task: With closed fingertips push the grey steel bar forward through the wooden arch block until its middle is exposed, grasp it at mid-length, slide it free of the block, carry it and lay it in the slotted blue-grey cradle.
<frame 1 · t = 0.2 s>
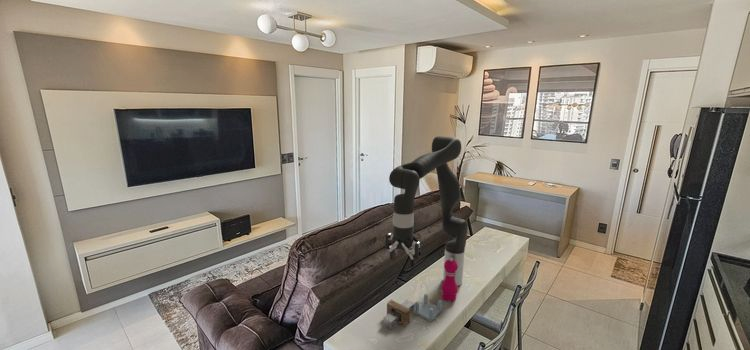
hand: (402, 263, 117), 28 cm above the table, fingers open, 8 cm apart
wooden arch block: (398, 318, 129), on the table
cradle: (428, 311, 134), on the table
pepper mill: (448, 297, 144), on the table
steel bar: (399, 318, 130), on the table
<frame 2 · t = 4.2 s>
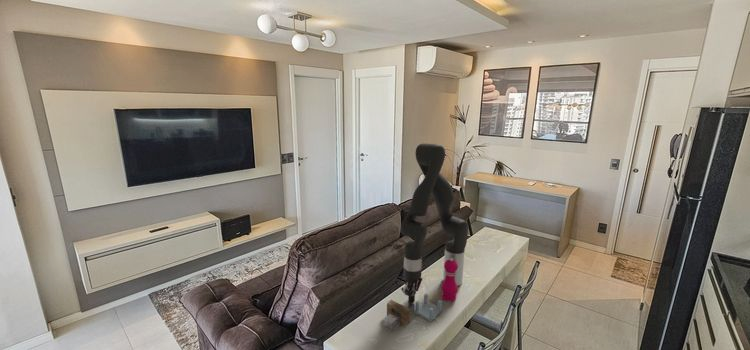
hand: (411, 301, 136), 3 cm above the table, fingers closed
nothing on the table moved.
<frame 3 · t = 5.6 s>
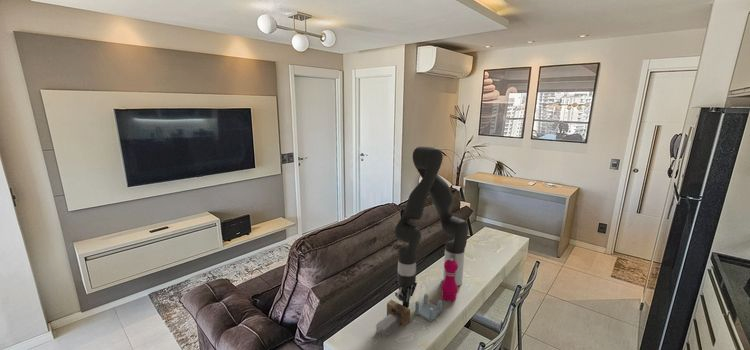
hand: (405, 307, 133), 3 cm above the table, fingers closed
steel bar: (392, 325, 126), on the table, touching wooden arch block, gripper
everything else where it was.
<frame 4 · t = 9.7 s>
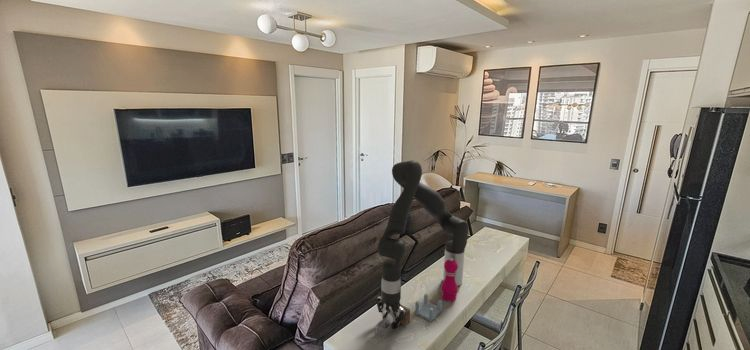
hand: (390, 325, 125), 0 cm above the table, fingers closed on steel bar, 4 cm apart
steel bar: (392, 324, 126), on the table, touching gripper
everything else where it was.
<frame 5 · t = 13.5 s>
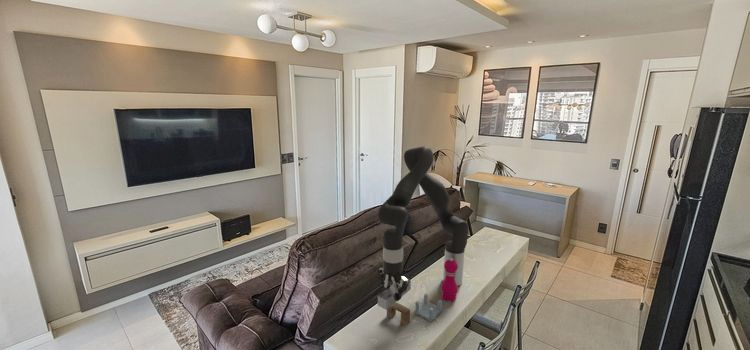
hand: (393, 297, 120), 14 cm above the table, fingers closed on steel bar, 4 cm apart
steel bar: (394, 296, 121), point 14 cm above the table, touching gripper
everything else where it was.
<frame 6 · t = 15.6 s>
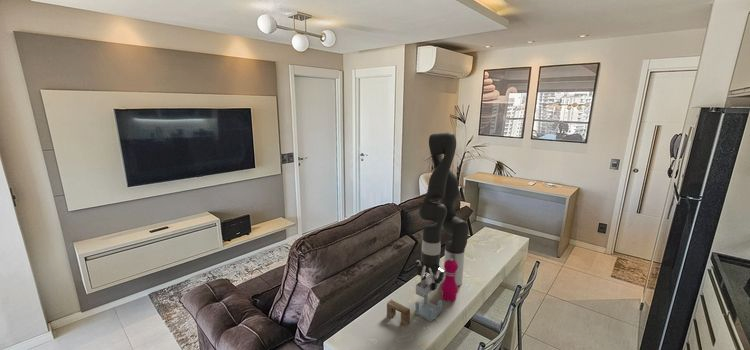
hand: (428, 287, 131), 12 cm above the table, fingers closed on steel bar, 4 cm apart
steel bar: (430, 287, 132), point 11 cm above the table, touching gripper
everything else where it was.
when the fingers open (3 cm above the table, at t = 17.4 s): steel bar drops 1 cm, resting on cradle.
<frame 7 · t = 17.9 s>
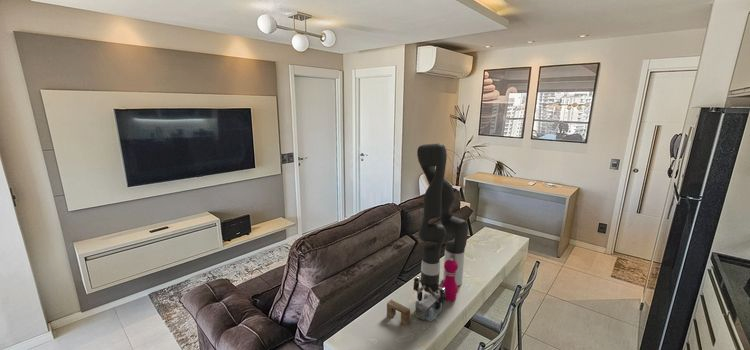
hand: (428, 304, 133), 4 cm above the table, fingers open, 8 cm apart
steel bar: (429, 308, 134), point 1 cm above the table, touching cradle
everything else where it was.
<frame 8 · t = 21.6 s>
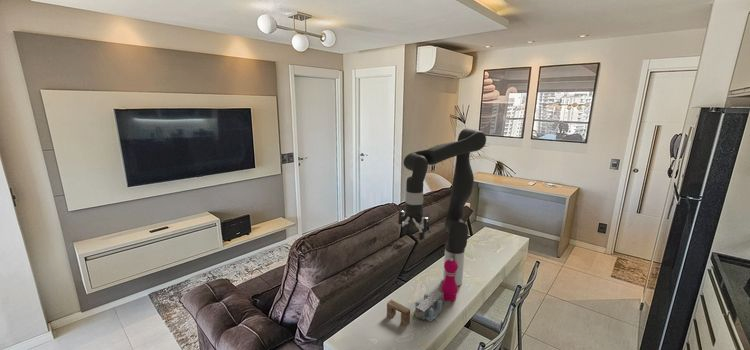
hand: (412, 236, 136), 30 cm above the table, fingers open, 8 cm apart
nothing on the table moved.
at the end: steel bar inside the target area on the cradle (1.2 cm from its centre), point 1.0 cm above the cradle's base; steel bar touching cradle; the gripper is holding nothing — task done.
